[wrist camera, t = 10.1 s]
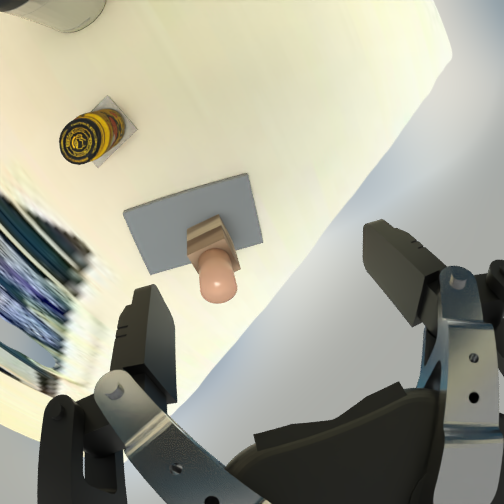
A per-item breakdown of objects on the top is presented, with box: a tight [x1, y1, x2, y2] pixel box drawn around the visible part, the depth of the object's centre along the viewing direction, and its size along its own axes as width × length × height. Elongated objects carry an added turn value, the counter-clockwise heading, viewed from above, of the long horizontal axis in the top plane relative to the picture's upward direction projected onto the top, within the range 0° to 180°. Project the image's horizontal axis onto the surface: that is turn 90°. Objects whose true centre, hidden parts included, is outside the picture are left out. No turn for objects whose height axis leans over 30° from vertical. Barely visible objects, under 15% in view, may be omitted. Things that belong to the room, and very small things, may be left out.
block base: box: [187, 214, 236, 253], centre depth 44 cm, size 6×6×4 cm
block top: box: [187, 225, 241, 274], centre depth 41 cm, size 6×6×4 cm
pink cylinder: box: [198, 248, 237, 303], centre depth 37 cm, size 4×4×6 cm
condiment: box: [59, 95, 138, 168], centre depth 30 cm, size 7×8×12 cm
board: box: [123, 173, 263, 275], centre depth 45 cm, size 12×20×1 cm, turn 102°
